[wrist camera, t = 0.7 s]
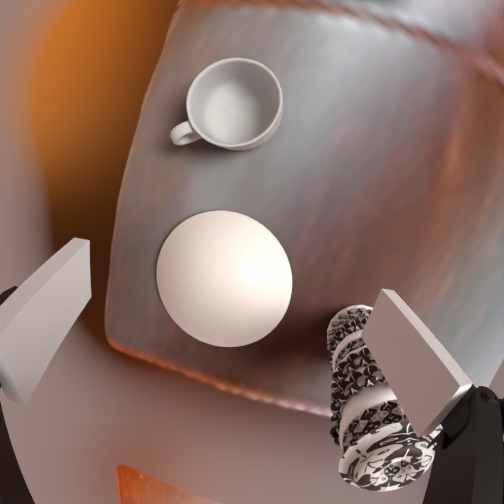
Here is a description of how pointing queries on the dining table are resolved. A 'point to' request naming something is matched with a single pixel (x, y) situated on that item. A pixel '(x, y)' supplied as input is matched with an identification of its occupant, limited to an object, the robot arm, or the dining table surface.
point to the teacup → (232, 106)
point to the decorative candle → (370, 413)
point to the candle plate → (224, 278)
